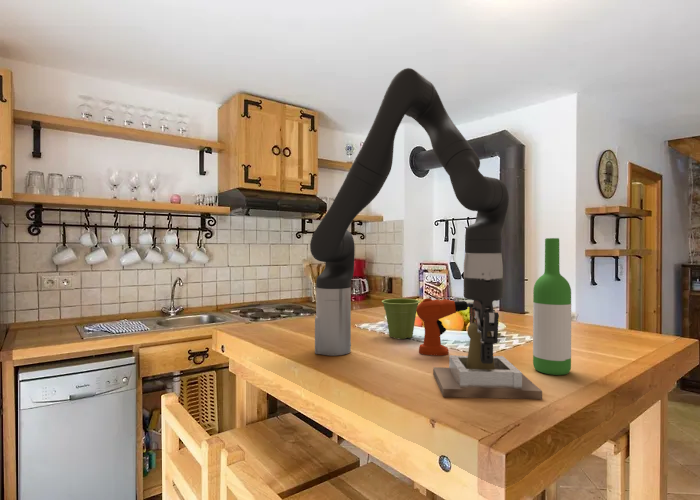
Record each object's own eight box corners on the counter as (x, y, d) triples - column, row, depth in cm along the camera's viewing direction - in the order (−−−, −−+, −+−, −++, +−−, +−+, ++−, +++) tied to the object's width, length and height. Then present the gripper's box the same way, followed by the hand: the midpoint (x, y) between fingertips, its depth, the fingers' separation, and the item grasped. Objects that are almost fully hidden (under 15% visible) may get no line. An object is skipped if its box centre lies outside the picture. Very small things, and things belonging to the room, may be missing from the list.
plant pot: (378, 333, 135) (378, 298, 135) (414, 332, 136) (414, 298, 136) (385, 341, 123) (385, 303, 123) (424, 340, 125) (424, 303, 125)
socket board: (443, 396, 78) (443, 388, 78) (433, 374, 92) (433, 367, 92) (542, 399, 77) (542, 391, 77) (516, 375, 91) (516, 368, 91)
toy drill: (494, 351, 105) (486, 293, 106) (419, 358, 108) (412, 301, 108) (490, 347, 110) (483, 291, 110) (419, 353, 113) (412, 298, 113)
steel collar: (460, 387, 79) (460, 371, 79) (449, 368, 90) (449, 355, 90) (521, 388, 78) (521, 372, 78) (502, 370, 90) (502, 356, 90)
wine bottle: (578, 372, 93) (578, 238, 92) (558, 378, 89) (558, 237, 88) (545, 364, 99) (546, 238, 99) (525, 369, 95) (526, 238, 95)
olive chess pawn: (492, 383, 81) (492, 327, 81) (461, 378, 84) (461, 323, 84) (499, 375, 86) (499, 322, 86) (469, 370, 89) (470, 319, 89)
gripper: (457, 273, 91) (456, 349, 92) (472, 278, 77) (471, 368, 77) (492, 273, 91) (491, 350, 91) (513, 278, 77) (513, 369, 77)
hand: (482, 358), depth 84 cm, fingers open, 6 cm apart
